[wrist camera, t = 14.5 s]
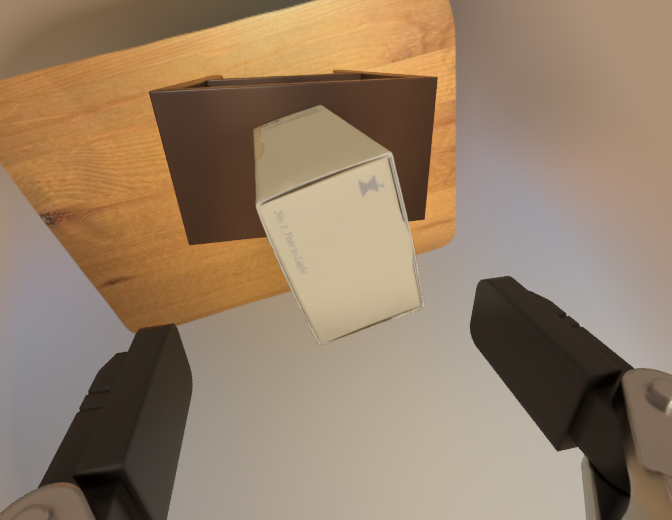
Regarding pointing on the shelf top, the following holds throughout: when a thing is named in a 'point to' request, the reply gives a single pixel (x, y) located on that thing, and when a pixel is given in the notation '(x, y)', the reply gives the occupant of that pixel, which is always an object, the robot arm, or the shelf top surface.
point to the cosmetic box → (336, 223)
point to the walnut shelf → (269, 105)
